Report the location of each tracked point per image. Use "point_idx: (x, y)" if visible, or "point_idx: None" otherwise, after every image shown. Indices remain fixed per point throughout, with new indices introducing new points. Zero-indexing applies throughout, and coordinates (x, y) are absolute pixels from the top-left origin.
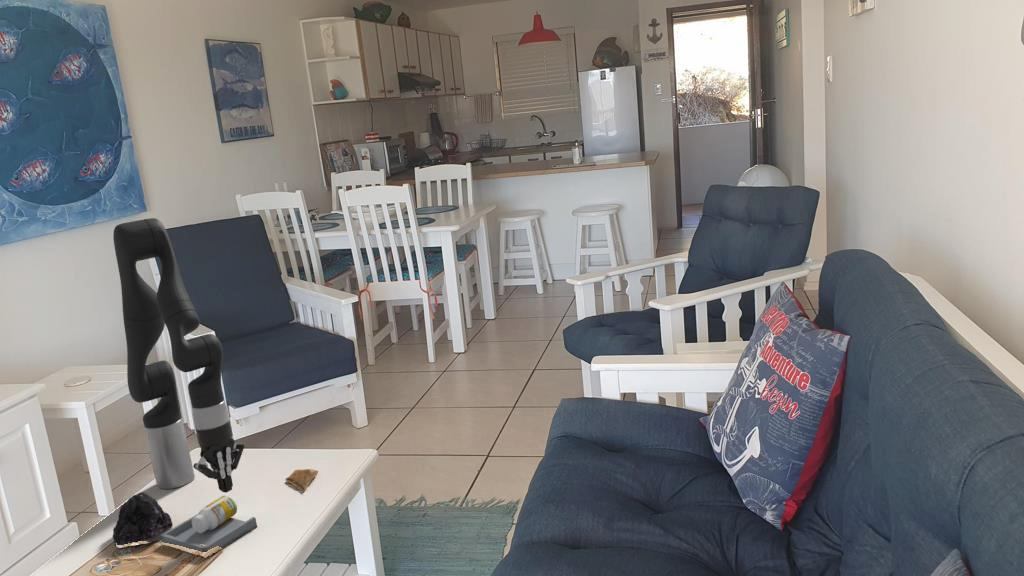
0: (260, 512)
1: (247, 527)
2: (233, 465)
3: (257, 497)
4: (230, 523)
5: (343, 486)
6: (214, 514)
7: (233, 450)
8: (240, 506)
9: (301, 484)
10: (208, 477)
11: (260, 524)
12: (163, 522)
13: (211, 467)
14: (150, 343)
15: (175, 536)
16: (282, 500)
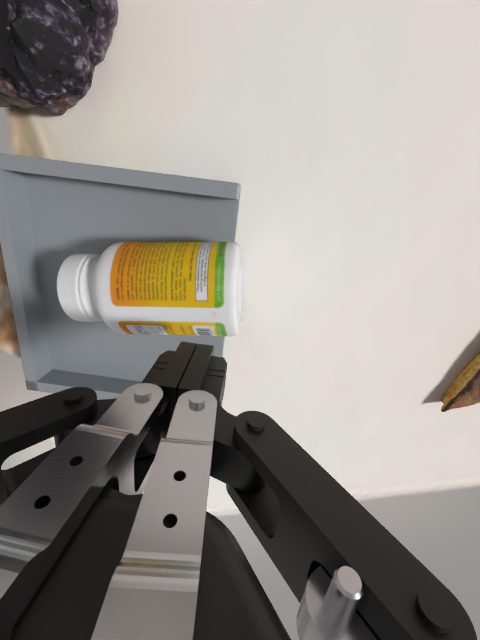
0: (294, 349)
1: None
2: (233, 498)
3: (395, 262)
4: None
5: (472, 484)
6: (124, 333)
7: (300, 625)
8: (321, 246)
9: (478, 386)
10: (59, 397)
11: (232, 395)
12: (17, 84)
13: (77, 433)
14: None
15: (59, 177)
16: (377, 368)
